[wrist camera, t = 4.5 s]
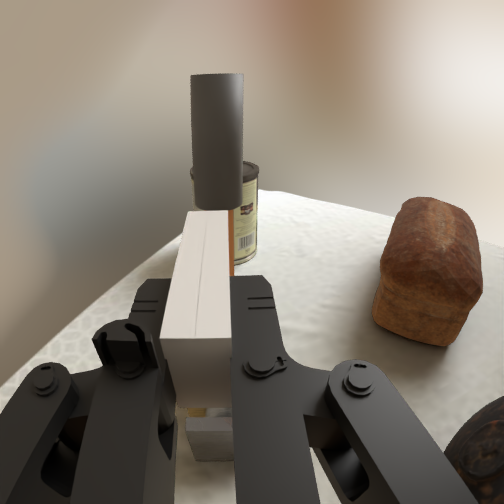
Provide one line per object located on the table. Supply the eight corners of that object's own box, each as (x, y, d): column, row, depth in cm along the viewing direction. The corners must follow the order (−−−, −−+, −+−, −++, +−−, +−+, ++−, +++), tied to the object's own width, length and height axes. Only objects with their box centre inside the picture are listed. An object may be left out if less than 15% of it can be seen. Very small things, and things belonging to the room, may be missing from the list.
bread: (458, 260, 52) (476, 201, 46) (455, 365, 31) (498, 282, 25) (393, 241, 58) (406, 180, 52) (355, 332, 37) (378, 245, 31)
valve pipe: (271, 458, 23) (280, 405, 19) (189, 460, 23) (170, 407, 18) (255, 322, 39) (257, 258, 34) (197, 324, 38) (190, 259, 34)
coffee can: (211, 231, 60) (208, 157, 53) (264, 241, 57) (267, 162, 50) (184, 259, 51) (176, 174, 44) (244, 271, 49) (244, 180, 41)
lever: (244, 329, 24) (246, 73, 15) (202, 330, 24) (185, 75, 15) (242, 304, 26) (243, 74, 18) (204, 305, 26) (191, 76, 17)
